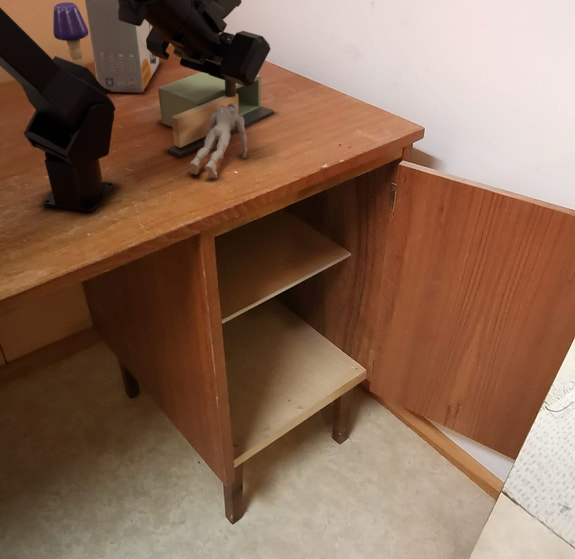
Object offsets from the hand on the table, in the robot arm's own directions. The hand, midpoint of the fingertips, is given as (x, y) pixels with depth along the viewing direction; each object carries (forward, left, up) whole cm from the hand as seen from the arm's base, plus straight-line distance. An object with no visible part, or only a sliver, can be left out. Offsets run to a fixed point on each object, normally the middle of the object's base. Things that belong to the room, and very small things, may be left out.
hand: (236, 78), depth 88 cm
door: (-6, +3, -7) cm, 10 cm away
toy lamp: (-4, +22, -7) cm, 24 cm away
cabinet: (-1, +5, -7) cm, 9 cm away
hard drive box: (+15, +23, -7) cm, 28 cm away
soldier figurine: (-12, -1, -7) cm, 14 cm away
